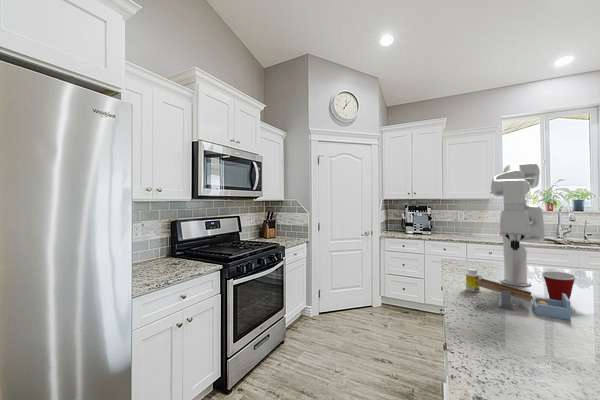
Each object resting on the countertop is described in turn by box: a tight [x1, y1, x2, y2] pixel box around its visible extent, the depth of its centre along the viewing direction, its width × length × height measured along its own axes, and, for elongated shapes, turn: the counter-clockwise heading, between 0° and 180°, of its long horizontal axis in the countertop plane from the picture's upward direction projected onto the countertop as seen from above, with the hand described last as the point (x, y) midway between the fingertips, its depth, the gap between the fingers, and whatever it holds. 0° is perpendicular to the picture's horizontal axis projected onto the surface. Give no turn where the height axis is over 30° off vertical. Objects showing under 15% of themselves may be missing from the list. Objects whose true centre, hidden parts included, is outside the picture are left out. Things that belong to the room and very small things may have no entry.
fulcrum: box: [498, 284, 515, 311], centre depth 114 cm, size 10×5×7 cm, turn 143°
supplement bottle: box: [465, 268, 481, 293], centre depth 134 cm, size 6×6×10 cm
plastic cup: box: [541, 270, 577, 301], centre depth 117 cm, size 11×11×12 cm
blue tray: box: [531, 293, 572, 322], centre depth 106 cm, size 10×10×7 cm
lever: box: [477, 275, 533, 303], centre depth 117 cm, size 12×18×3 cm
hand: (515, 249), depth 120 cm, fingers closed
